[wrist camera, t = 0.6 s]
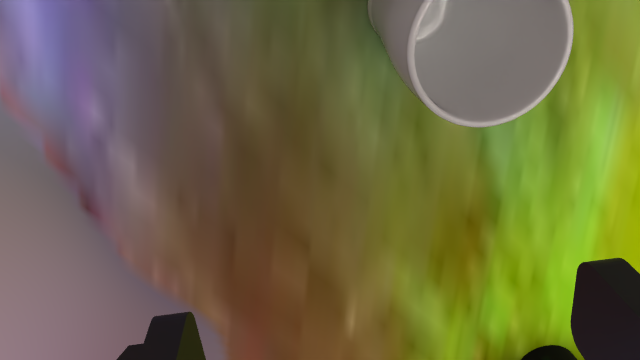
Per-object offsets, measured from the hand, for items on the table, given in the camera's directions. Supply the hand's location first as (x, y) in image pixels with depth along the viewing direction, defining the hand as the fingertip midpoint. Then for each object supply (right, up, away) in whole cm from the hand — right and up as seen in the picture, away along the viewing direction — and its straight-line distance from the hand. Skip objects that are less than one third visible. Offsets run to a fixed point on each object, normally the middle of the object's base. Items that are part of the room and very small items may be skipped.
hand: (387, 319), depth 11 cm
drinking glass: (+4, +14, +23) cm, 28 cm away
